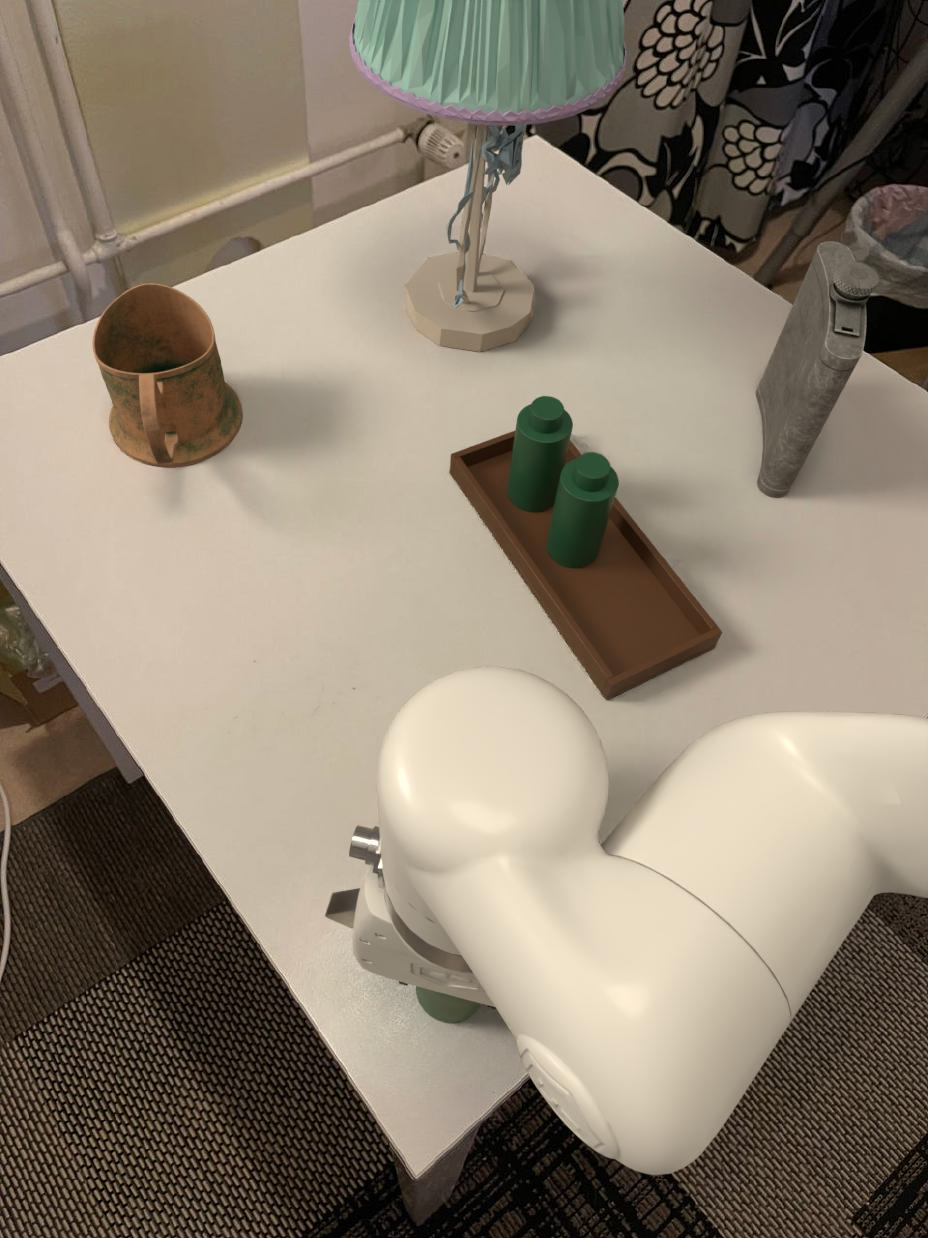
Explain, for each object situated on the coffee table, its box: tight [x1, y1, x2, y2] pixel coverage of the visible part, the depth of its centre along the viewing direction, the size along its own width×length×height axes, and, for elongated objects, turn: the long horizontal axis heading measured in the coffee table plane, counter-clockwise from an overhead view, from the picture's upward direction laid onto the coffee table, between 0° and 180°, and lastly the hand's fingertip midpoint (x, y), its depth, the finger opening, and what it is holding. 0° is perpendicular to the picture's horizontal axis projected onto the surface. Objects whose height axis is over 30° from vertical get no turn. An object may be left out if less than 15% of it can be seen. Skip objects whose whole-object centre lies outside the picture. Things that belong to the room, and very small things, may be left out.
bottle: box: [415, 986, 482, 1024], centre depth 53 cm, size 4×4×10 cm
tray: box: [449, 430, 724, 701], centre depth 75 cm, size 25×10×2 cm, turn 28°
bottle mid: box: [546, 451, 620, 568], centre depth 72 cm, size 4×4×10 cm
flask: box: [755, 241, 880, 499], centre depth 77 cm, size 4×14×18 cm, turn 171°
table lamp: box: [348, 0, 628, 353], centre depth 76 cm, size 22×22×40 cm
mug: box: [92, 282, 243, 468], centre depth 76 cm, size 12×18×12 cm, turn 11°
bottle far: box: [507, 395, 574, 512], centre depth 75 cm, size 4×4×10 cm
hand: (453, 969), depth 54 cm, fingers closed on bottle, 4 cm apart
